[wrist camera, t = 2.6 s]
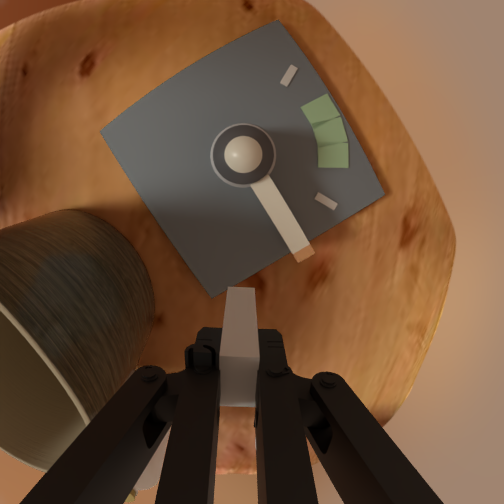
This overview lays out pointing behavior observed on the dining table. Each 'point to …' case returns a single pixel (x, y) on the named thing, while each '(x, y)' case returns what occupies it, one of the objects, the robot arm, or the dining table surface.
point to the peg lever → (259, 180)
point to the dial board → (217, 187)
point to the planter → (65, 328)
